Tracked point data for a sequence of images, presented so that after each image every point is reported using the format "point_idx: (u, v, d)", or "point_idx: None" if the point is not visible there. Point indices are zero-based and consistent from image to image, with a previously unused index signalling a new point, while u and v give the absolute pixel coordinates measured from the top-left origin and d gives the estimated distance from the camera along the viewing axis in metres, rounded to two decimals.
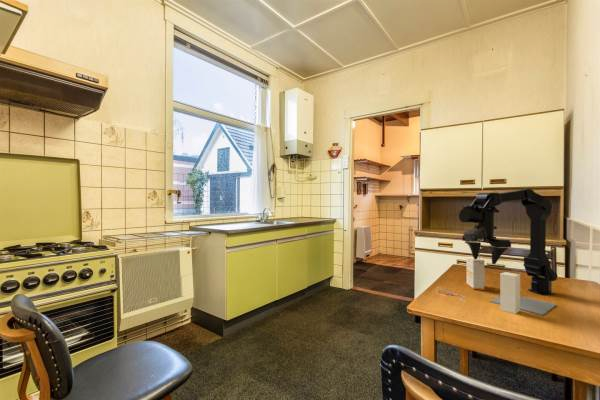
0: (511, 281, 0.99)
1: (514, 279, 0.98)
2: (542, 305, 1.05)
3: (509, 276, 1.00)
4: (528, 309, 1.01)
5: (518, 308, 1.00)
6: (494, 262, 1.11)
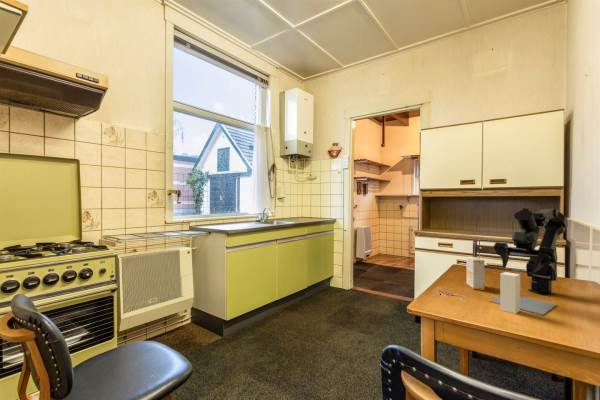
0: (511, 281, 0.99)
1: (514, 279, 0.98)
2: (542, 305, 1.05)
3: (509, 276, 1.00)
4: (528, 309, 1.01)
5: (518, 308, 1.00)
6: (535, 270, 1.02)
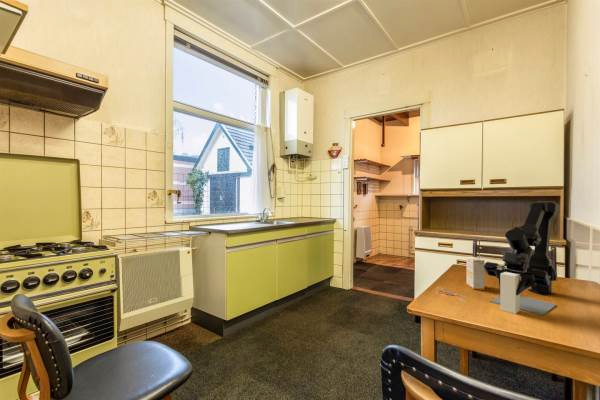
0: (511, 281, 0.99)
1: (514, 279, 0.98)
2: (542, 305, 1.05)
3: (509, 276, 1.00)
4: (528, 309, 1.01)
5: (518, 308, 1.00)
6: (518, 292, 0.99)
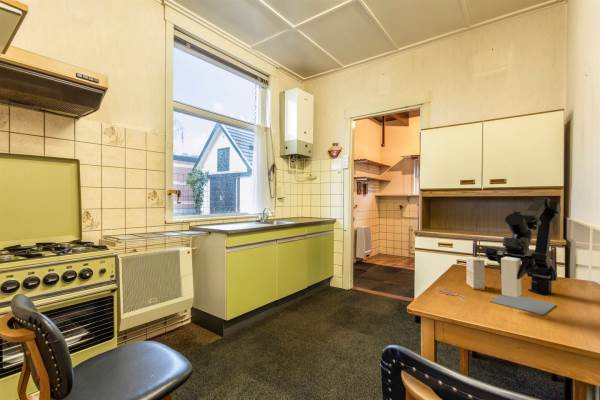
0: (512, 266, 0.99)
1: (515, 263, 0.99)
2: (542, 305, 1.05)
3: (510, 261, 1.00)
4: (528, 309, 1.01)
5: (519, 292, 1.01)
6: (519, 277, 0.99)
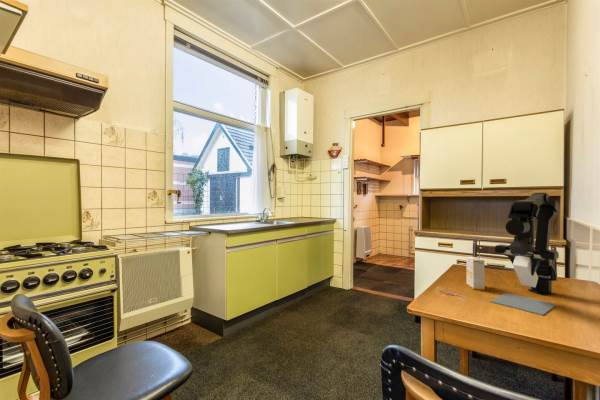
0: (524, 269, 1.06)
1: (527, 268, 1.05)
2: (542, 305, 1.05)
3: (521, 266, 1.06)
4: (528, 309, 1.01)
5: (536, 279, 1.10)
6: (533, 273, 1.07)
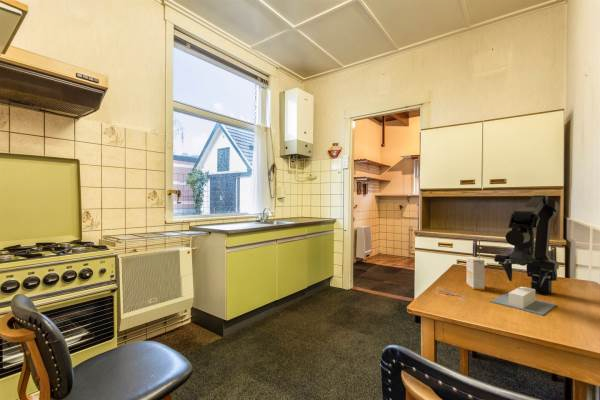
0: None
1: (523, 307, 1.03)
2: (542, 305, 1.05)
3: (517, 306, 1.04)
4: (528, 309, 1.01)
5: (534, 293, 1.09)
6: (541, 285, 1.05)
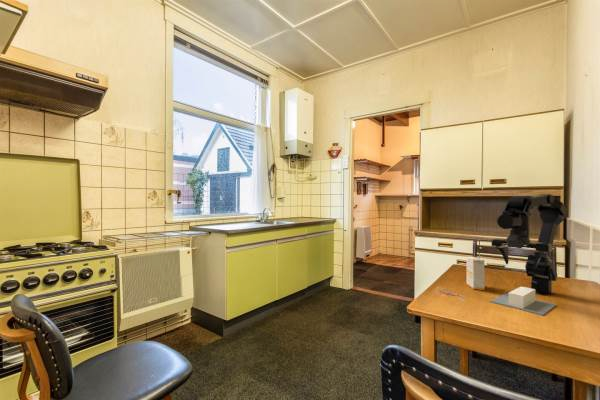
0: None
1: (523, 307, 1.03)
2: (542, 305, 1.05)
3: (517, 306, 1.04)
4: (528, 309, 1.01)
5: (534, 293, 1.09)
6: (536, 266, 1.10)
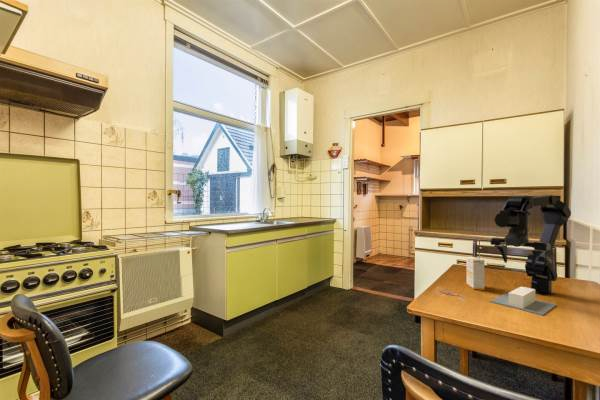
0: None
1: (523, 307, 1.03)
2: (542, 305, 1.05)
3: (517, 306, 1.04)
4: (528, 309, 1.01)
5: (534, 293, 1.09)
6: (534, 265, 1.11)
